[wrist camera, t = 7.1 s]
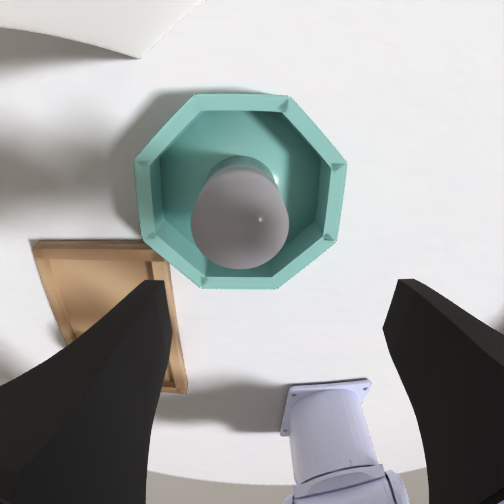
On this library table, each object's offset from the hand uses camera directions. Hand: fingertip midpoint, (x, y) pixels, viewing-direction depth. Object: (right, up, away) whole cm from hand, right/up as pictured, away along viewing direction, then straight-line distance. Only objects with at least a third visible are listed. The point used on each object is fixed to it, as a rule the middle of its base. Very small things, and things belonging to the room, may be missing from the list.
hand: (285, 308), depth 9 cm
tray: (-11, -4, +13) cm, 18 cm away
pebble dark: (-2, +5, +8) cm, 9 cm away
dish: (-2, +5, +8) cm, 10 cm away
